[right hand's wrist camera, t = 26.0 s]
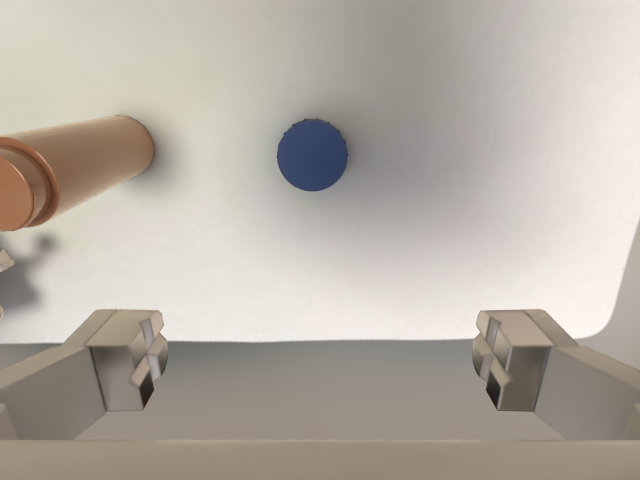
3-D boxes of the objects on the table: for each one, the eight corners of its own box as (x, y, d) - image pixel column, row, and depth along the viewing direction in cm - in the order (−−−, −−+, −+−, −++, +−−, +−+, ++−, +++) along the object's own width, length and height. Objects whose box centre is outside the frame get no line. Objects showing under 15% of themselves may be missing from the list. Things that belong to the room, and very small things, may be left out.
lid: (355, 171, 35) (357, 176, 33) (294, 196, 36) (293, 202, 34) (332, 107, 33) (332, 108, 31) (267, 134, 34) (264, 137, 32)
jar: (93, 167, 35) (-59, 226, 21) (95, 108, 33) (-71, 130, 19) (151, 180, 35) (41, 247, 21) (156, 123, 34) (38, 154, 20)
